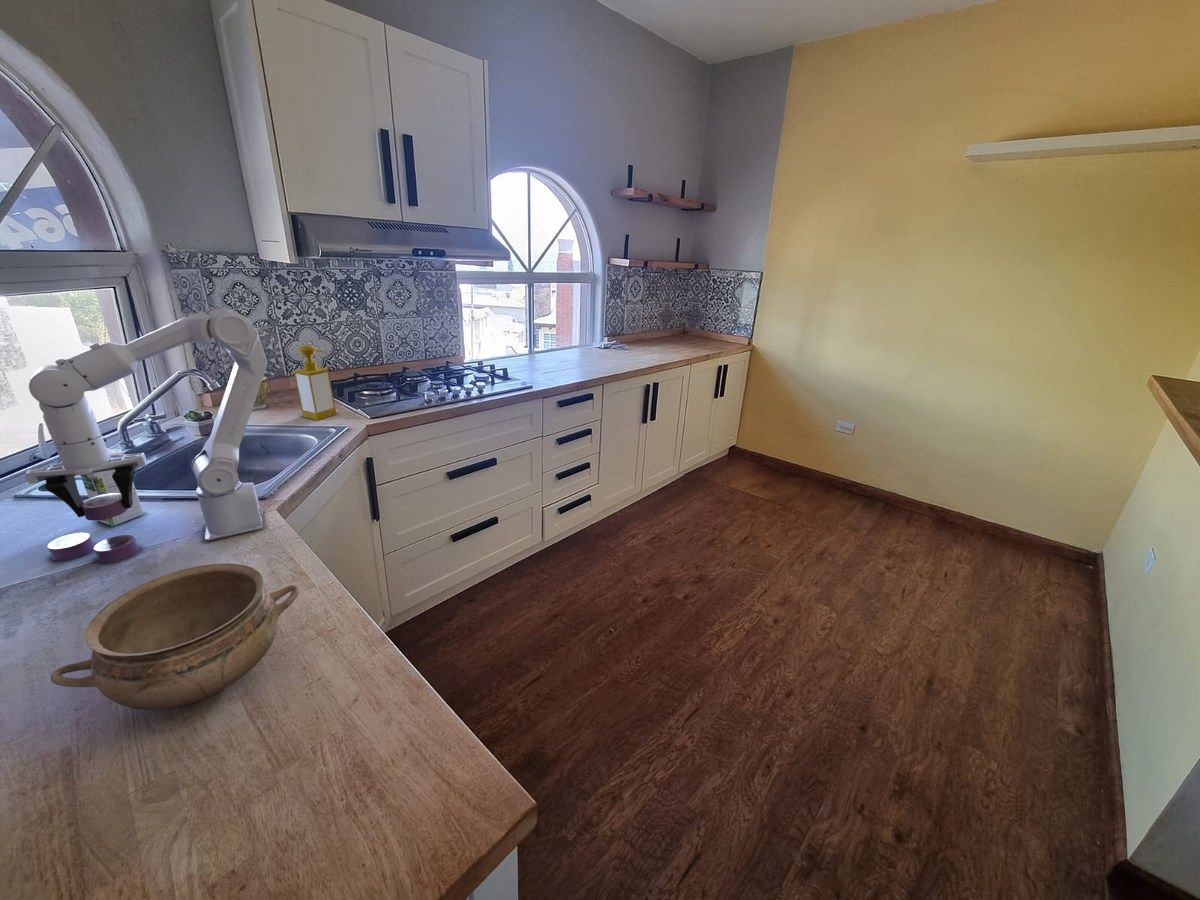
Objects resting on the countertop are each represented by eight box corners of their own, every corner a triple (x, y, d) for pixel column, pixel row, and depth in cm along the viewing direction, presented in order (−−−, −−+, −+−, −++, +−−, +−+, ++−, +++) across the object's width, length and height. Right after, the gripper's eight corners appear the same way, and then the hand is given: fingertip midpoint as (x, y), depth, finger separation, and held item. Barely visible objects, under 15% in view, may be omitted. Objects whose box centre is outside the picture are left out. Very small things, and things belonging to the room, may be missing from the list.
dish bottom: (141, 543, 96) (136, 531, 95) (136, 557, 92) (132, 545, 91) (101, 551, 93) (97, 539, 92) (95, 566, 89) (90, 554, 88)
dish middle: (131, 502, 92) (126, 490, 91) (125, 515, 88) (120, 502, 87) (89, 509, 89) (84, 497, 88) (81, 523, 85) (76, 510, 84)
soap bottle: (328, 422, 163) (315, 350, 154) (302, 416, 168) (288, 346, 159) (347, 416, 169) (335, 346, 160) (322, 410, 174) (309, 342, 165)
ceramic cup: (230, 410, 171) (223, 381, 168) (254, 402, 180) (247, 375, 177) (264, 413, 169) (257, 384, 166) (286, 405, 179) (280, 377, 175)
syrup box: (95, 521, 103) (70, 456, 98) (129, 508, 108) (107, 446, 103) (112, 527, 101) (87, 461, 96) (146, 514, 106) (124, 451, 101)
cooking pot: (293, 602, 82) (277, 538, 77) (328, 671, 69) (311, 599, 64) (80, 682, 66) (44, 608, 61) (74, 791, 53) (28, 707, 49)
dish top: (97, 540, 96) (93, 529, 95) (91, 555, 92) (86, 543, 91) (57, 549, 94) (52, 537, 93) (48, 564, 89) (42, 552, 88)
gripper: (6, 454, 76) (40, 531, 81) (131, 438, 84) (156, 509, 89) (22, 440, 82) (53, 512, 87) (138, 426, 89) (161, 493, 94)
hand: (106, 510), depth 88 cm, fingers closed on dish middle, 5 cm apart
